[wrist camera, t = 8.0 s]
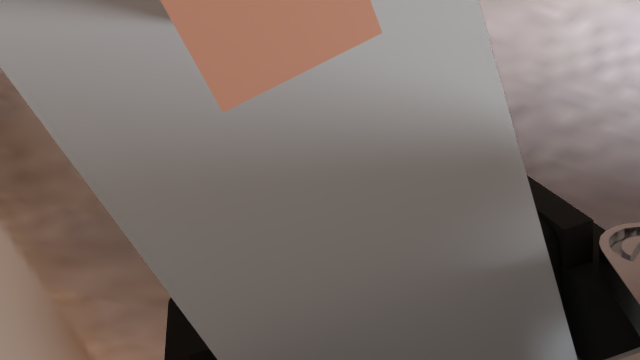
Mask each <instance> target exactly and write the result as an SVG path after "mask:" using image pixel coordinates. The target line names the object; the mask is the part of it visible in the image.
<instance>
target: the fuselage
mask: <svg viewBox="0 0 640 360" xmlns="http://www.w3.org/2000/svg"><path fill="white" fill-rule="evenodd" d="M0 68H1V69H2V71H3V72H4V73H5V75H6V76H7V77H8V79H9V80H10V81H11V83H12V84H13V85H14V87H15V88H16V89H17V91H18V92H19V93H20V95H21V96H22V98H23V99H24V100H25V102H26V103H27V104H28V106H29V107H30V108H31V110H32V111H33V112H34V114H35V115H36V116H37V118H38V119H39V120H40V122H41V123H42V124H43V126H44V127H45V128H46V130H47V131H48V132H49V134H50V135H51V136H52V138H53V139H54V141H55V142H56V143H57V145H58V146H59V147H60V149H61V150H62V151H63V153H64V154H65V155H66V157H67V158H68V159H69V161H70V162H71V163H72V165H73V166H74V167H75V169H76V170H77V171H78V173H79V174H80V175H81V177H82V178H83V180H84V181H85V182H86V184H87V185H88V186H89V188H90V189H91V190H92V192H93V193H94V194H95V196H96V197H97V198H98V200H99V201H100V202H101V204H102V205H103V206H104V208H105V209H106V210H107V212H108V213H109V214H110V216H111V217H112V218H113V220H114V221H115V223H116V224H117V225H118V227H119V228H120V229H121V231H122V232H123V233H124V235H125V236H126V237H127V239H128V240H129V241H130V243H131V244H132V245H133V247H134V248H135V249H136V251H137V252H138V253H139V255H140V256H141V257H142V259H143V260H144V261H145V263H146V264H147V266H148V267H149V268H150V270H151V271H152V272H153V274H154V275H155V276H156V278H157V279H158V280H159V282H160V283H161V284H162V286H163V287H164V288H165V290H166V291H167V292H168V294H169V295H170V296H171V298H172V299H173V300H174V302H175V303H176V304H177V306H178V307H179V309H180V310H181V311H182V313H183V314H184V315H185V317H186V318H187V319H188V321H189V322H190V323H191V325H192V326H193V327H194V329H195V330H196V331H197V333H198V334H199V335H200V337H201V338H202V339H203V341H204V342H205V343H206V345H207V346H208V348H209V349H210V350H211V352H212V353H213V354H214V356H215V357H216V358H217V360H577V356H576V352H575V349H574V345H573V341H572V338H571V334H570V331H569V327H568V323H567V320H566V316H565V312H564V309H563V305H562V301H561V298H560V294H559V291H558V287H557V283H556V280H555V276H554V272H553V269H552V265H551V261H550V258H549V254H548V251H547V247H546V243H545V240H544V236H543V232H542V229H541V225H540V221H539V218H538V214H537V210H536V207H535V203H534V200H533V196H532V192H531V189H530V185H529V181H528V178H527V174H526V170H525V167H524V163H523V160H522V156H521V152H520V149H519V145H518V141H517V138H516V134H515V130H514V127H513V123H512V120H511V116H510V112H509V109H508V105H507V101H506V98H505V94H504V90H503V87H502V83H501V80H500V76H499V72H498V69H497V65H496V61H495V58H494V54H493V50H492V47H491V43H490V40H489V36H488V32H487V29H486V25H485V21H484V18H483V14H482V10H481V7H480V3H479V0H0Z"/></svg>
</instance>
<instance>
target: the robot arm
mask: <svg viewBox="0 0 640 360" xmlns="http://www.w3.org/2000/svg"><path fill="white" fill-rule="evenodd" d="M527 178H528V181H529V185H530V189H531V192H532V196H533V200H534V203H535V207H536V210H537V214H538V218H539V221H540V225H541V229H542V232H543V236H544V240H545V243H546V247H547V251H548V254H549V258H550V261H551V265H552V269H553V272H554V276H555V280H556V283H557V287H558V291H559V294H560V298H561V301H562V305H563V309H564V312H565V316H566V320H567V323H568V327H569V331H570V334H571V338H572V341H573V345H574V349H575V352H576V356H577V360H640V222H636V223H625V224H621V225H616V226H614V227H612V228H610V229H608V230H606V231H605V230H604V229H603V228H601V227H600V226H598V225H597V224H595V223H594V222H593V219H591V218H590V217H588V216H587V215H585V214H584V213H582V212H581V211H579V210H578V209H576V208H575V207H573V206H572V205H570V204H569V203H567V202H566V201H564V200H563V199H561V198H560V197H558V196H557V195H555V194H554V193H552V192H551V191H549V190H548V189H546V188H545V187H544V186H542V185H541V184H539V183H538V182H536V181H535V180H533V179H532V178H530V177H529V176H527ZM164 360H217V358H216V357H215V356H214V354H213V353H212V352H211V350H210V349H209V348H208V346H207V345H206V343H205V342H204V341H203V339H202V338H201V337H200V335H199V334H198V333H197V331H196V330H195V329H194V327H193V326H192V325H191V323H190V322H189V321H188V319H187V318H186V317H185V315H184V314H183V313H182V311H181V310H180V309H179V307H178V306H177V304H176V303H175V302H174V300H173V299H172V298H171V299H170V300H169V304H168V318H167V332H166V345H165V359H164Z"/></svg>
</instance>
